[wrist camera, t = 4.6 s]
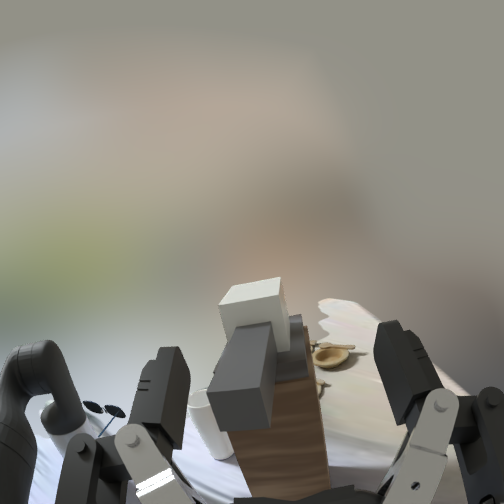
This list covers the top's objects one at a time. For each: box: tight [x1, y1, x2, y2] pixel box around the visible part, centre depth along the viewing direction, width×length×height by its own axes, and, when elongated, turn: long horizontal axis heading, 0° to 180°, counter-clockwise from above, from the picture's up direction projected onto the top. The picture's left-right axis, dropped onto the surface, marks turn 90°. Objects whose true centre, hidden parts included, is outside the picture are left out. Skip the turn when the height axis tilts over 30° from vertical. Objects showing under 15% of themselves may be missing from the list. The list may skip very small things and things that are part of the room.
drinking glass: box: [187, 389, 234, 460], centre depth 52 cm, size 7×7×15 cm
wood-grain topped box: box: [213, 314, 331, 501], centre depth 35 cm, size 14×10×31 cm
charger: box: [206, 277, 290, 432], centre depth 28 cm, size 20×6×6 cm, turn 173°
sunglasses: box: [81, 401, 126, 438], centre depth 65 cm, size 17×15×5 cm
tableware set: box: [310, 340, 355, 395], centre depth 83 cm, size 35×29×4 cm
